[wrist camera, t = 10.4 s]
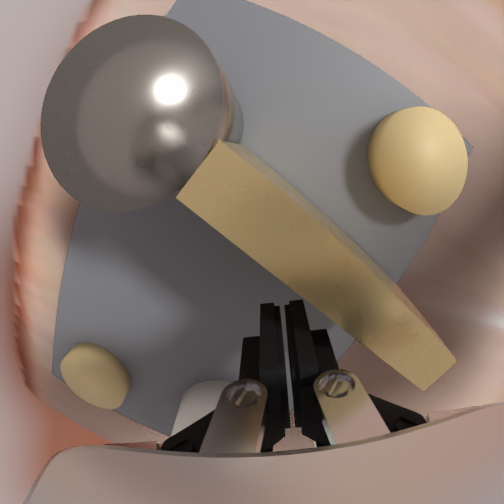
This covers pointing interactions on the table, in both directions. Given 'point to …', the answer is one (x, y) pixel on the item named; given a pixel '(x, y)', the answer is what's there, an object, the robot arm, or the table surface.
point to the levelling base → (227, 253)
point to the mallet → (214, 177)
